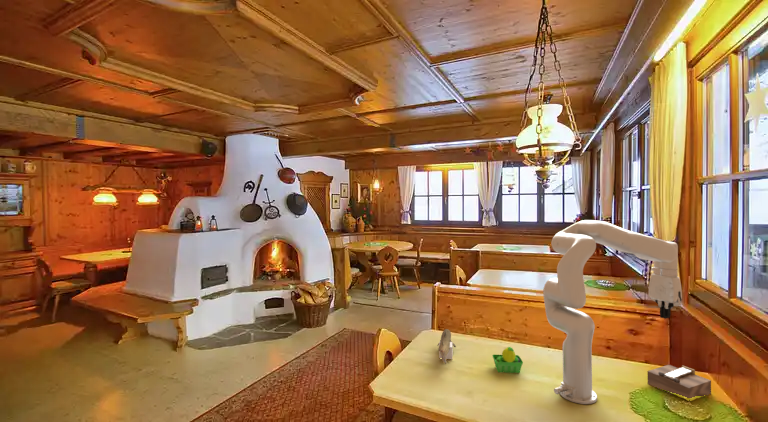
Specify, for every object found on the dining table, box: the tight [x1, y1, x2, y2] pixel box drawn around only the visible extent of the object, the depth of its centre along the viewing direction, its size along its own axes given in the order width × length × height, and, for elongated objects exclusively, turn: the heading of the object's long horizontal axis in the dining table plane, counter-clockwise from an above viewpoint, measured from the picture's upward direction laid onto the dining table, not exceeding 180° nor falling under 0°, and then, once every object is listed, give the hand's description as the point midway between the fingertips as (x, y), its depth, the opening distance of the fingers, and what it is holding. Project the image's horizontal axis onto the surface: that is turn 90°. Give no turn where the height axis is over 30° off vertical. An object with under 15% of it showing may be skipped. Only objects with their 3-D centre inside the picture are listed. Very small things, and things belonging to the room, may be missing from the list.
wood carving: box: [437, 328, 457, 364], centre depth 166 cm, size 9×35×11 cm, turn 168°
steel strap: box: [664, 366, 691, 380], centre depth 135 cm, size 11×3×1 cm, turn 111°
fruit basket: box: [492, 346, 524, 374], centre depth 153 cm, size 11×9×11 cm
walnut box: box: [647, 364, 712, 398], centre depth 135 cm, size 13×14×7 cm
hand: (665, 317), depth 143 cm, fingers closed
